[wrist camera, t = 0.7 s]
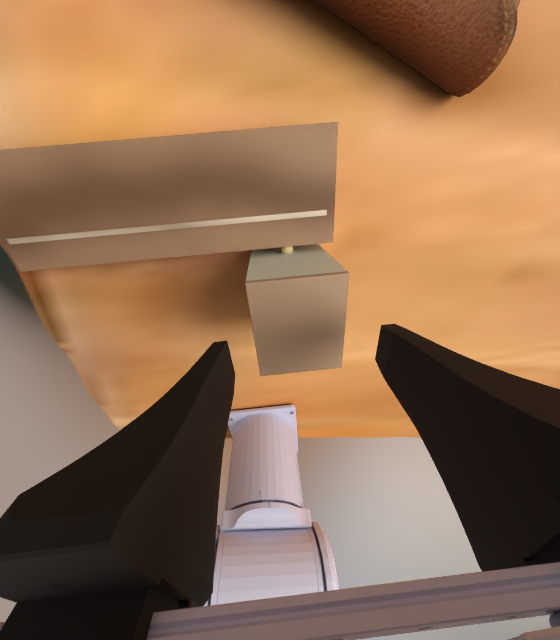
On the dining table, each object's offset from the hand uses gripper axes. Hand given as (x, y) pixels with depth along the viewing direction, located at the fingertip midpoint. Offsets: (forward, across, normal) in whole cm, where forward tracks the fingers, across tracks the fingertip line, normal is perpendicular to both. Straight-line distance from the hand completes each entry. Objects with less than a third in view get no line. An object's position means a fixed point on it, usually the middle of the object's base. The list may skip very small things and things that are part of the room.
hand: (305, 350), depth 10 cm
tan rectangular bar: (+9, +7, -6) cm, 13 cm away
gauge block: (+9, 0, 0) cm, 9 cm away
